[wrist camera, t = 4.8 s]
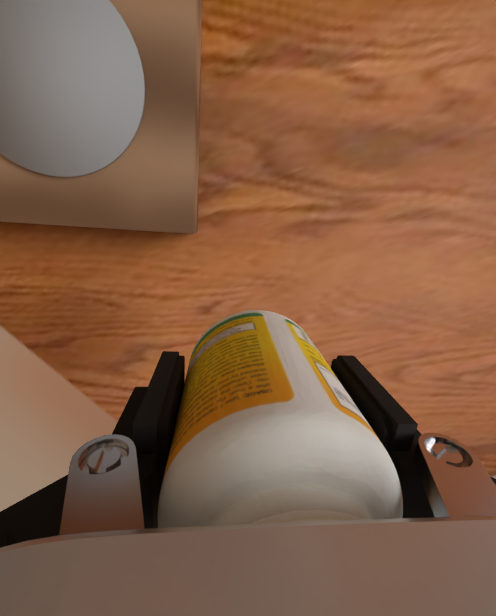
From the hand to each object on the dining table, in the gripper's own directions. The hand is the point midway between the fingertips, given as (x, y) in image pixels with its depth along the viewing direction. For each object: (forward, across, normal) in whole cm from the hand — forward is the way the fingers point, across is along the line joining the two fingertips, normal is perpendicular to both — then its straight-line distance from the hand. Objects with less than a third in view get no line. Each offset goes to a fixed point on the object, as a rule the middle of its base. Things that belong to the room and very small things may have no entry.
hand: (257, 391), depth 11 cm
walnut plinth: (+13, +10, -12) cm, 20 cm away
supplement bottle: (+2, 0, 0) cm, 2 cm away
